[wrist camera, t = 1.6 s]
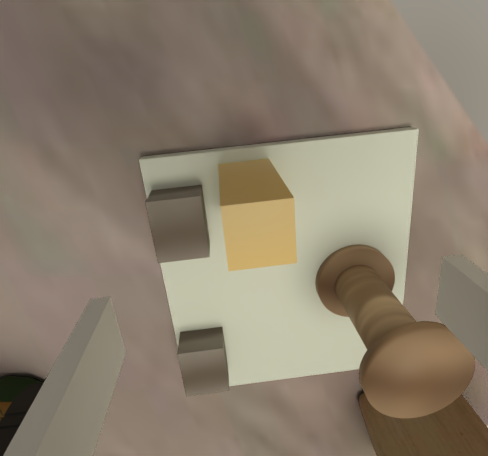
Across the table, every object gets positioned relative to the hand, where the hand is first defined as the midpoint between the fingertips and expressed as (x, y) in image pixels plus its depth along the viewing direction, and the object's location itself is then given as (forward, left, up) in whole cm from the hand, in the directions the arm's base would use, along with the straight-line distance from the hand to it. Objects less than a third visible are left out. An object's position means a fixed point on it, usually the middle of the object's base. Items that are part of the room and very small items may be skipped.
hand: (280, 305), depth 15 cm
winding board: (+9, +3, -18) cm, 20 cm away
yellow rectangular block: (0, 0, -16) cm, 16 cm away
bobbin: (+10, +9, -16) cm, 21 cm away
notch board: (+9, -6, -17) cm, 19 cm away
